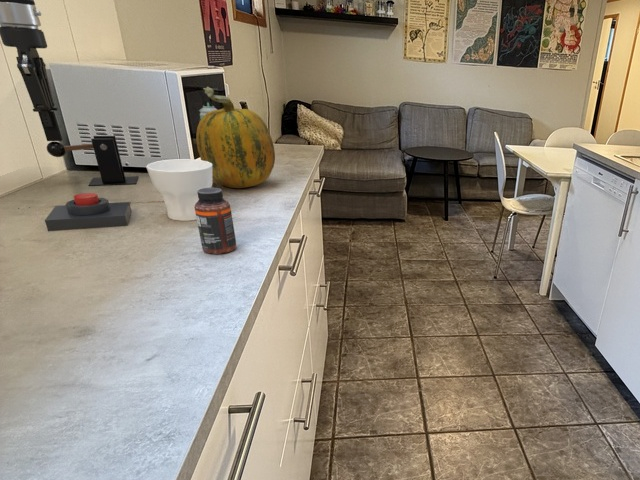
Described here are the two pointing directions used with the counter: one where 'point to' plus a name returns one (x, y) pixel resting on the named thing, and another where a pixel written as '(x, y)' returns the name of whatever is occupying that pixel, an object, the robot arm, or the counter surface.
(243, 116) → the pumpkin
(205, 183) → the cup
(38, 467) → the counter surface
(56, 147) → the switch lever
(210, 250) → the supplement bottle
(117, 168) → the lever bracket
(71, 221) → the switch box
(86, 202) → the push button
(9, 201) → the counter surface
